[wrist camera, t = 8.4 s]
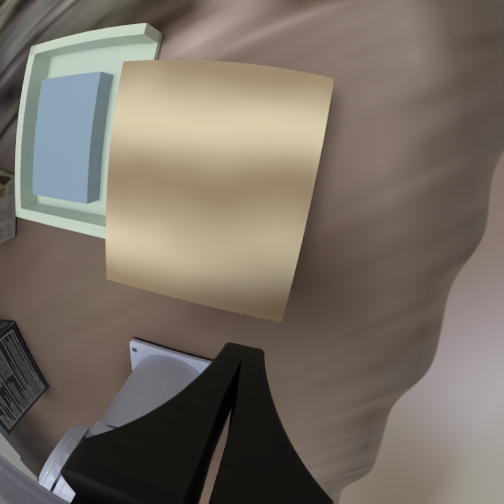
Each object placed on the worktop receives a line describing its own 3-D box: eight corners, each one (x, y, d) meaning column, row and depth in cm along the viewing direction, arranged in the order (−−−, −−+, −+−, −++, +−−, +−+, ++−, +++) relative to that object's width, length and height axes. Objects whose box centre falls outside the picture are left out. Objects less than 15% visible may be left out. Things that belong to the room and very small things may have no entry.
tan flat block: (285, 290, 20) (281, 322, 17) (135, 256, 21) (106, 279, 17) (326, 92, 16) (334, 78, 12) (154, 74, 17) (123, 61, 13)
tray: (136, 230, 20) (118, 241, 18) (35, 209, 21) (16, 216, 19) (163, 34, 15) (146, 22, 13) (51, 51, 16) (31, 46, 14)
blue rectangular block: (32, 194, 19) (45, 191, 20) (87, 204, 18) (99, 199, 20) (42, 79, 15) (55, 81, 17) (101, 71, 15) (113, 74, 16)
